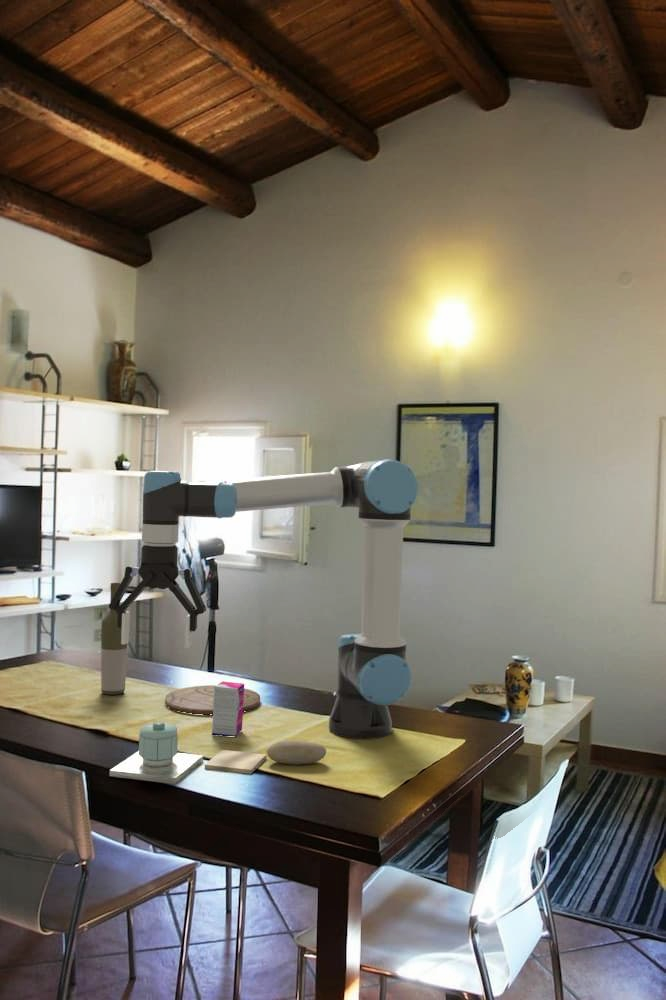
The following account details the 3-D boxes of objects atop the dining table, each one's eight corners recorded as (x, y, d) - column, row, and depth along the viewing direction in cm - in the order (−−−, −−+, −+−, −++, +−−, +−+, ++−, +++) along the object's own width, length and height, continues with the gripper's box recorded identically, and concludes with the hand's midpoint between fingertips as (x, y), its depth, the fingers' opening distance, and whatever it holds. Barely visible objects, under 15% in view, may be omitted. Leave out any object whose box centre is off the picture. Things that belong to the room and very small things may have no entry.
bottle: (131, 693, 230) (134, 583, 229) (109, 697, 224) (112, 585, 224) (116, 688, 234) (119, 581, 234) (94, 692, 229) (97, 583, 228)
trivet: (221, 723, 206) (221, 715, 206) (144, 706, 218) (144, 699, 218) (278, 701, 227) (278, 694, 227) (205, 687, 240) (205, 681, 240)
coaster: (266, 758, 179) (266, 754, 179) (251, 773, 170) (251, 769, 170) (222, 753, 182) (222, 749, 182) (204, 768, 172) (204, 764, 172)
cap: (182, 750, 174) (183, 720, 174) (167, 761, 167) (168, 730, 166) (149, 746, 176) (150, 717, 175) (133, 757, 168) (133, 726, 168)
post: (203, 761, 176) (203, 728, 176) (175, 784, 163) (176, 748, 163) (141, 754, 180) (142, 721, 179) (109, 776, 166) (110, 741, 166)
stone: (264, 746, 179) (317, 728, 182) (272, 776, 178) (326, 757, 180) (265, 745, 174) (320, 727, 176) (274, 776, 172) (329, 757, 175)
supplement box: (235, 738, 193) (237, 688, 193) (211, 735, 194) (212, 686, 194) (243, 730, 199) (244, 682, 198) (219, 728, 200) (220, 680, 199)
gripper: (222, 545, 179) (218, 644, 180) (107, 540, 181) (104, 638, 182) (214, 548, 172) (210, 651, 172) (95, 542, 174) (92, 645, 174)
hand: (156, 645), depth 177 cm, fingers open, 13 cm apart
